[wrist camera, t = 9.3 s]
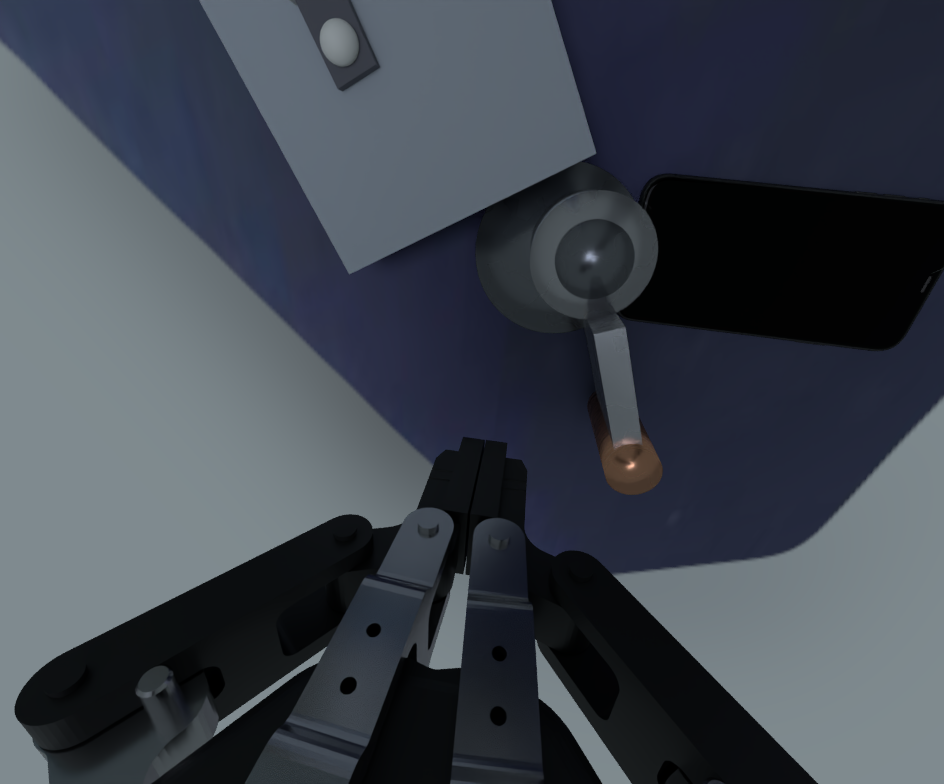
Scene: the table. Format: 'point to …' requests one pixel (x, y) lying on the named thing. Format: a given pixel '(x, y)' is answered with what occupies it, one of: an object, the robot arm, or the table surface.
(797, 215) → the smartphone
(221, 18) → the slide switch panel
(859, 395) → the table surface
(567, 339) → the table surface
